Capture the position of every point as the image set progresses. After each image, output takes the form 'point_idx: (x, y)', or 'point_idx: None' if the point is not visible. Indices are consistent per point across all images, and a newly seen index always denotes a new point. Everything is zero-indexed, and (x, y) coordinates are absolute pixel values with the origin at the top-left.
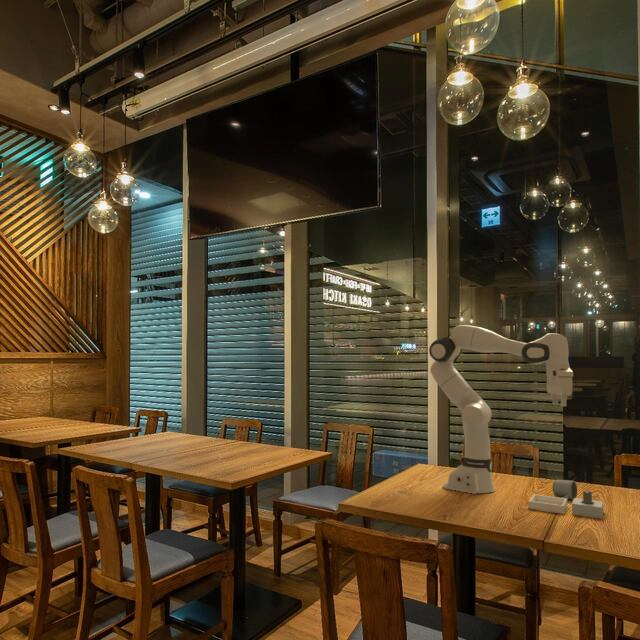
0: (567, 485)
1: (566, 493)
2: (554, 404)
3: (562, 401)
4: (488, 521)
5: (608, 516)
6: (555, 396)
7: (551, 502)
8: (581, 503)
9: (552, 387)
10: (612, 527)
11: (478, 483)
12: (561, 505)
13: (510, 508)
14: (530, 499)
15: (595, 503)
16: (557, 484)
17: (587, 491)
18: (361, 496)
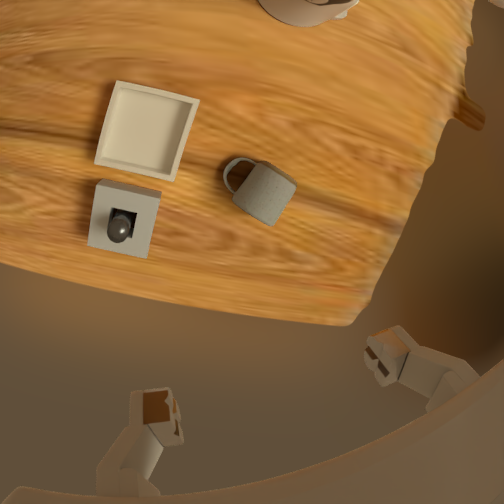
0: (245, 199)
1: (238, 190)
2: (369, 336)
3: (126, 435)
4: (15, 17)
5: None
6: (436, 391)
7: (179, 141)
8: (106, 207)
9: (443, 495)
10: (43, 242)
11: None
12: (96, 158)
13: (116, 41)
14: (135, 85)
15: None
16: (261, 175)
17: (122, 234)
18: None
